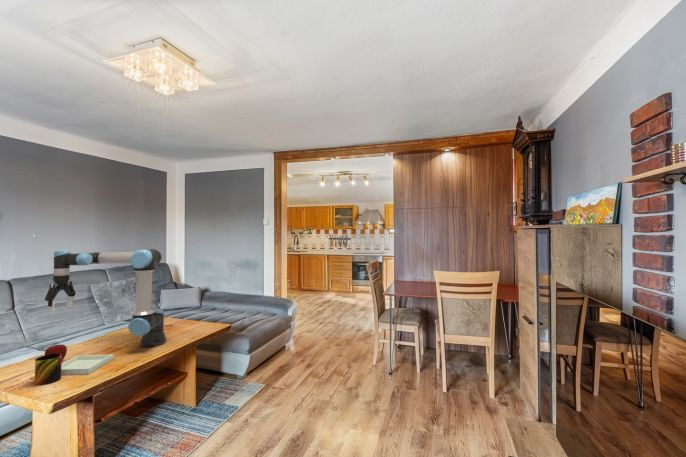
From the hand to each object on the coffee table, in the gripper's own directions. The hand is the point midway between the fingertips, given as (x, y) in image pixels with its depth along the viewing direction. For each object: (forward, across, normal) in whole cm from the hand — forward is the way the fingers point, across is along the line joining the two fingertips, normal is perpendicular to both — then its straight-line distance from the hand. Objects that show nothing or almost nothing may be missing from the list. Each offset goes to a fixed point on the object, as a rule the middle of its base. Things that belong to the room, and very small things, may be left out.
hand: (60, 309), depth 192 cm
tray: (+28, +22, +30) cm, 46 cm away
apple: (+28, +14, +9) cm, 32 cm away
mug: (+28, +38, +23) cm, 53 cm away
